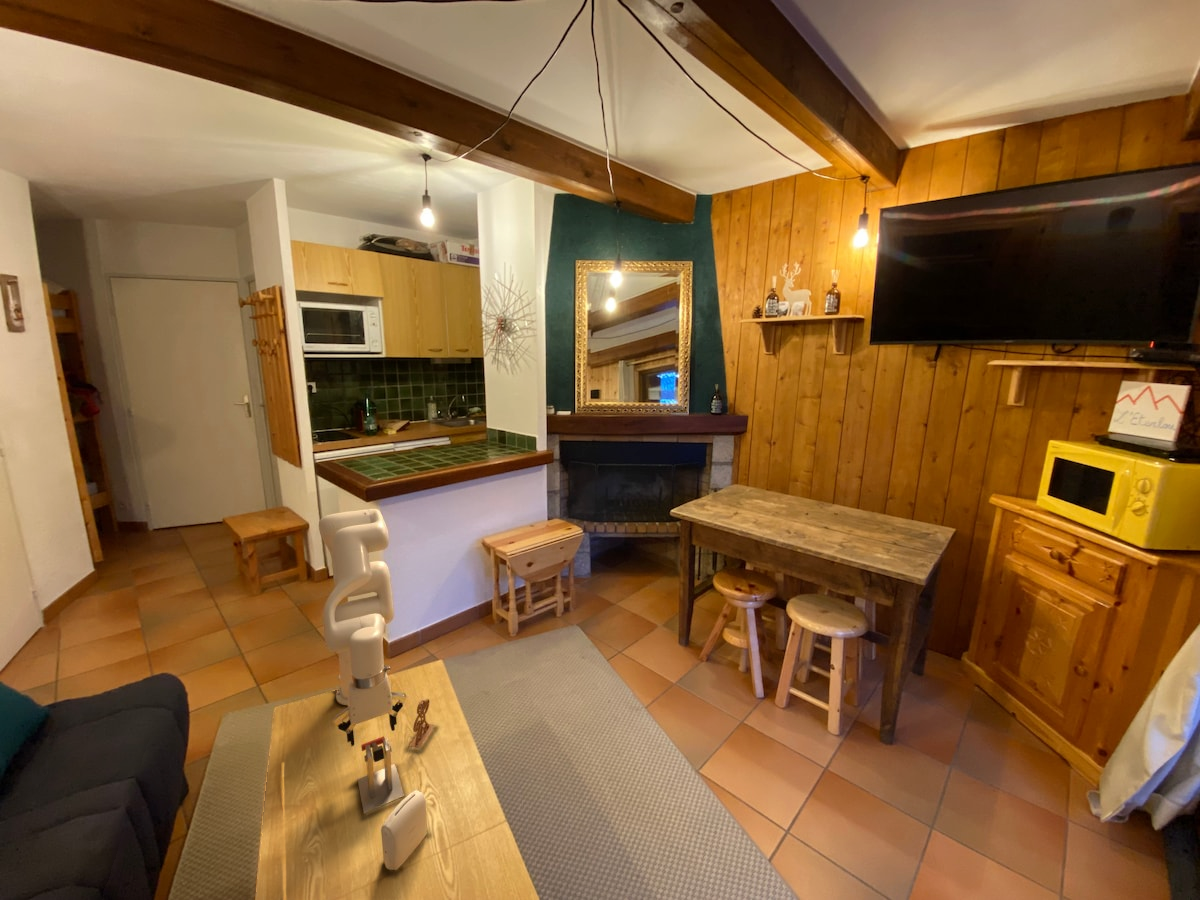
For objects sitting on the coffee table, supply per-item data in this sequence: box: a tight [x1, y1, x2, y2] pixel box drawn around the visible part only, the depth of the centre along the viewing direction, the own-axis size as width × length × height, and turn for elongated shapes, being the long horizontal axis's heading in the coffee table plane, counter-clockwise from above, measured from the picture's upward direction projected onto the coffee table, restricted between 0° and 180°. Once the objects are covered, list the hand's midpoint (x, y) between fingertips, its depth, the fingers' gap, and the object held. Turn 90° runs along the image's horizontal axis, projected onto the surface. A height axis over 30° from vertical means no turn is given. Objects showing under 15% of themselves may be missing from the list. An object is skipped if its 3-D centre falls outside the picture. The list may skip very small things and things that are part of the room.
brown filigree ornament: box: [408, 698, 436, 749], centre depth 136 cm, size 9×4×12 cm, turn 171°
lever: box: [360, 735, 385, 763], centre depth 122 cm, size 12×6×2 cm, turn 34°
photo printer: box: [380, 789, 428, 871], centre depth 105 cm, size 10×4×12 cm, turn 156°
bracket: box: [357, 737, 405, 815], centre depth 119 cm, size 11×9×13 cm
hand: (372, 734), depth 125 cm, fingers open, 9 cm apart
